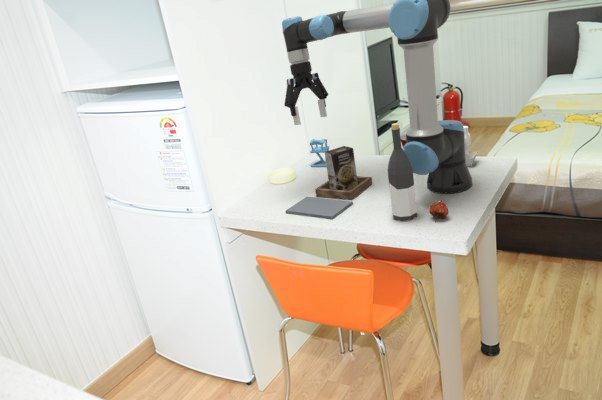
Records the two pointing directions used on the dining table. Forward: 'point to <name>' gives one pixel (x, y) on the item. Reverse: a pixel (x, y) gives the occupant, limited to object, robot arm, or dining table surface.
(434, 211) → the pomegranate
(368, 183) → the walnut cradle
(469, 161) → the figurine
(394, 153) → the wine bottle
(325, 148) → the chair
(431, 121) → the robot arm
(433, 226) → the dining table surface
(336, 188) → the coffee box
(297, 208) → the slate mat
